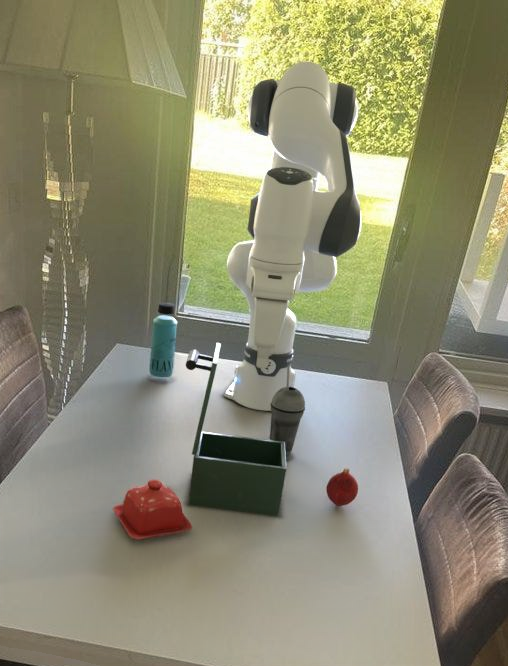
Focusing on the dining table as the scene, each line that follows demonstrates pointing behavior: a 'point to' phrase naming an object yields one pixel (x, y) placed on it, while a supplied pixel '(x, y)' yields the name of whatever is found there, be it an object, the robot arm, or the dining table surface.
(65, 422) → the dining table surface
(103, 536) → the dining table surface
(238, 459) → the green box
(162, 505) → the butter dish
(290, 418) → the beverage cup
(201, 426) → the green box lid
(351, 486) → the onion
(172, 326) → the beverage bottle
